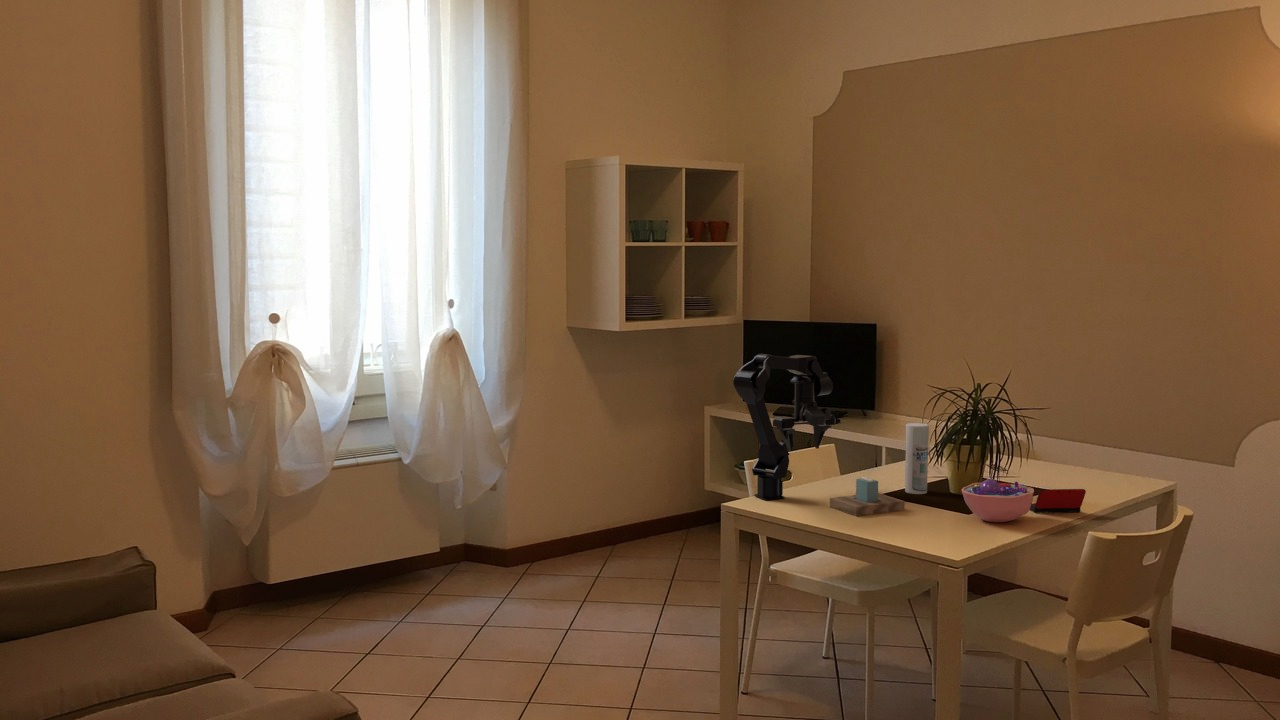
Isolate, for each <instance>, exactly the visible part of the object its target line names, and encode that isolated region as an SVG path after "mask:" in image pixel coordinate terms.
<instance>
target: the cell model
mask: <svg viewBox="0 0 1280 720" xmlns="http://www.w3.org/2000/svg"><path fill="white" fill-rule="evenodd" d="M1034 492H1035V490H1034V488H1033V487H1030V486H1026V485H1025V484H1022V483H1019V482H1018V481H1014V483H1006V482H1004V483H1003V482H998V481H997V480H995V479H994V478H987V479H985V480H983V481H982V482H973V483H971V484H969V485H967V486H964V487H962V488H961V493H962V496H963V499H964V502H965V504H966V505H967V507H968V508H969V510H970V511H971V512H972V513H973V514H974V515H975V516H976V517H978V518H980V519H981V520H983V521H985V522H991V523H1007V522H1010V521H1014V520H1017V519H1019V518H1020V517H1022V516H1025V515H1027V514H1028V513H1029V511H1031V510H1030V507H1031V504H1033V499H1034Z"/></svg>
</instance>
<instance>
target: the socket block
mask: <svg viewBox="0 0 1280 720" xmlns="http://www.w3.org/2000/svg"><path fill="white" fill-rule="evenodd" d="M905 504H906V502H905V500H901V499H898V498H895V497H892V496H889V495H886V494H883V493H879V492H878V502H871V503H865V502H862V501H859V500H856V494H854V495H845V496H835V497H829V507H830V508H831V507H833V508H832V509H834V508H835V509H834V510H837V509H838V510H837V511H841V512H843V513H846V514H849V515H851V516H854V517H862V516H870V515H877V514H885V513H893V512H894V513H895V512H901V511H903V512H904V511H905V507H906V506H905Z"/></svg>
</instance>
